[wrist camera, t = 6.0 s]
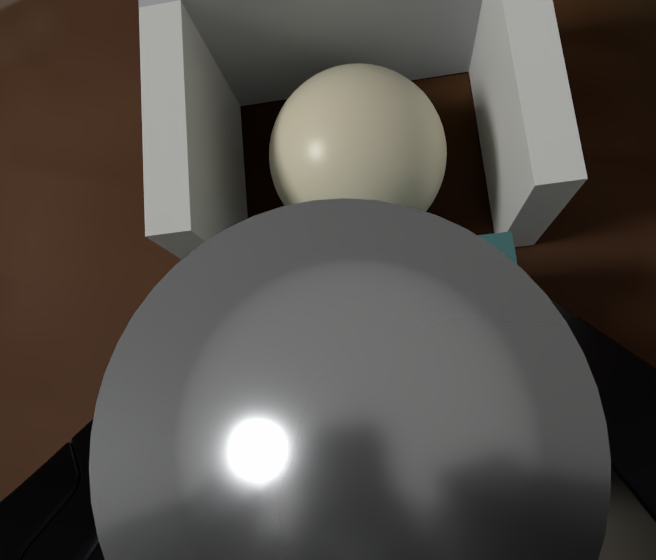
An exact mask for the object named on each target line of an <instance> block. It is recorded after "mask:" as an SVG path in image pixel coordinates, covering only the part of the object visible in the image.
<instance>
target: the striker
mask: <svg viewBox="0 0 656 560" xmlns="http://www.w3.org/2000/svg"><path fill="white" fill-rule="evenodd" d="M89 478H90V493H91V505H92V510H93V515H94V521H95V526H96V531H97V537H98V540H99V543H100V546H101V549H102V552H103V556H104V559H105V560H598V559H599V555H600V552H601V548H602V545H603V541H604V538H605V533H606V526H607V519H608V512H609V506H610V499H611V457H610V448H609V440H608V431H607V423H606V419H605V415H604V412H603V408H602V404H601V400H600V396H599V392H598V388H597V385H596V383H595V380H594V378H593V375H592V373H591V370H590V368H589V365H588V363H587V360H586V358H585V355H584V353H583V351H582V349H581V347H580V346H579V344H578V342H577V340H576V338H575V337H574V335H573V333H572V331H571V329H570V328H569V326H568V324H567V322H566V321H565V319H564V318H563V317H562V315H561V314H560V313H559V311H558V310H557V308H556V307H555V306H554V304H553V303H552V302H551V300H550V299H549V298H548V296H547V295H546V294H545V292H544V291H543V290H542V289H541V288H540V287H539V286H538V285H537V284H536V283H535V282H534V281H533V280H532V279H531V278H530V277H529V276H528V275H527V273H526V272H525V271H524V270H523V269H522V268H521V267H519V266H518V265H517V259H516V253H515V247H514V241H513V235H512V231H510V232H502V233H493V234H485V235H476V234H474V233H472V232H471V231H469V230H468V229H466V228H463V227H461V226H459V225H457V224H455V223H453V222H450V221H448V220H446V219H444V218H442V217H440V216H437V215H434V214H431V213H428V212H425V211H422V210H419V209H415V208H412V207H409V206H405V205H400V204H395V203H389V202H384V201H378V200H367V199H349V198H340V199H326V200H312V201H307V202H302V203H297V204H292V205H287V206H282V207H279V208H276V209H273V210H270V211H267V212H264V213H261V214H258V215H255V216H252V217H250V218H248V219H246V220H244V221H242V222H240V223H237V224H235V225H233V226H231V227H229V228H227V229H225V230H223V231H222V232H220V233H219V234H217V235H215V236H214V237H212V238H211V239H209V240H208V241H206V242H204V243H203V244H201V245H200V246H198V247H197V248H196V249H195V250H193V251H192V252H191V253H190V254H189V255H187V256H186V257H185V258H184V259H182V260H181V261H180V262H179V263H178V264H176V265H175V266H174V267H173V268H172V269H171V270H170V271H169V272H168V273H167V275H166V276H165V277H164V278H163V279H162V280H161V281H160V282H159V283H158V284H157V285H156V286H155V287H154V288H153V289H152V291H151V292H150V293H149V295H148V296H147V297H146V299H145V300H144V301H143V303H142V304H141V305H140V307H139V308H138V309H137V311H136V312H135V313H134V315H133V317H132V319H131V320H130V322H129V324H128V325H127V327H126V329H125V331H124V332H123V334H122V336H121V338H120V339H119V341H118V343H117V346H116V348H115V350H114V353H113V355H112V357H111V360H110V362H109V364H108V367H107V369H106V371H105V375H104V378H103V381H102V385H101V388H100V392H99V395H98V398H97V402H96V407H95V413H94V419H93V424H92V430H91V438H90V457H89Z"/></svg>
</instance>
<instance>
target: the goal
mask: <svg viewBox="0 0 656 560" xmlns="http://www.w3.org/2000/svg"><path fill="white" fill-rule="evenodd" d="M139 29H140V65H141V101H142V137H143V173H144V210H145V236H146V237H147V238H149V239H150V240H152V241H153V242H155V243H157V244H158V245H160V246H161V247H163V248H165V249H166V250H168V251H169V252H171V253H172V254H174V255H176V256H177V257H179V258H180V259H184V258H185V257H186V256H187V255H189V254H190V253H191V252H192V251H193V250H195V249H196V248H197V247H198V246H200V245H201V244H203V243H204V242H206V241H208V240H209V239H211V238H212V237H214V236H215V235H217V234H219V233H220V232H222V231H223V230H225V229H227V228H229V227H231V226H233V225H235V224H237V223H240V222H242V221H244V220H246V219H248V213H247V198H246V183H245V168H244V153H243V138H242V123H241V108H240V106H246V105H252V104H259V103H265V102H272V101H279V100H285V99H288V98H289V97H290V96H291V95H292V93H293V92H294V91H295V90H296V89H297V88H298V87H299V86H301V85H302V84H303V83H304V82H305V81H306V80H308V79H310V78H311V77H313V76H314V75H316V74H318V73H320V72H322V71H324V70H326V69H329V68H332V67H335V66H339V65H345V64H354V63H364V64H374V65H378V66H382V67H386V68H388V69H391V70H393V71H396V72H397V73H399V74H401V75H403V76H405V77H406V78H408V79H409V80H417V79H423V78H430V77H436V76H443V75H449V74H456V73H463V72H469V76H470V82H471V89H472V95H473V101H474V108H475V114H476V120H477V127H478V133H479V139H480V145H481V152H482V158H483V164H484V171H485V177H486V183H487V190H488V196H489V202H490V209H491V215H492V221H493V228H494V233H502V232H510V231H512V235H513V241H514V247H520V246H528V245H534V244H535V243H536V241H537V240H538V239H539V238H540V237H541V235H542V234H543V233H544V232H545V230H546V229H547V228H548V227H549V226H550V224H551V223H552V222H553V221H554V219H555V218H556V217H557V216H558V214H559V213H560V212H561V211H562V210H563V208H564V207H565V206H566V205H567V203H568V202H569V201H570V200H571V199H572V197H573V196H574V195H575V194H576V192H577V191H578V190H579V189H580V187H581V186H582V185H583V184H584V183H585V181H586V180H587V179H588V178H587V173H586V168H585V163H584V158H583V153H582V147H581V142H580V137H579V132H578V127H577V122H576V117H575V112H574V107H573V102H572V97H571V92H570V87H569V82H568V76H567V71H566V66H565V61H564V56H563V51H562V46H561V41H560V36H559V31H558V26H557V21H556V16H555V11H554V5H553V0H139Z"/></svg>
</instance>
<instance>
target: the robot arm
mask: <svg viewBox="0 0 656 560" xmlns="http://www.w3.org/2000/svg"><path fill="white" fill-rule="evenodd" d="M548 298H549V297H548ZM549 299H550V300H551V302H552V303H553V304H554V306H555V307H556V308H557V310H558V311H559V313H560V314H561V315H562V317H563V318H564V319H565V321H566V322H567V324H568V326H569V328H570V329H571V331H572V333H573V335H574V337H575V338H576V340H577V342H578V344H579V346H580V347H581V349H582V351H583V353H584V355H585V358H586V360H587V363H588V365H589V368H590V370H591V373H592V375H593V378H594V380H595V383H596V385H597V388H598V392H599V396H600V400H601V404H602V408H603V412H604V415H605V419H606V423H607V431H608V440H609V448H610V457H611V499H610V506H609V512H608V519H607V526H606V533H605V538H604V541H603V545H602V548H601V552H600V555H599V559H598V560H656V368H655V367H653V366H652V365H650V364H649V363H647V362H646V361H644V360H643V359H641V358H640V357H638V356H637V355H635V354H634V353H632V352H631V351H629V350H628V349H626V348H625V347H623V346H622V345H620V344H619V343H617V342H616V341H614V340H613V339H611V338H610V337H608V336H607V335H605V334H604V333H602V332H601V331H599V330H598V329H596V328H595V327H593V326H592V325H590V324H588V323H587V322H585V321H584V320H582V319H581V318H579V317H578V316H576V315H575V314H573V313H572V312H570V311H569V310H567V309H566V308H564V307H563V306H561V305H560V304H558V303H557V302H555V301H554V300H552V299H551V298H549ZM93 419H94V418H93ZM93 419H92V420H91V421H90V422H89V423H88V424H87V425H86V426H85V427H84V428H83V429H81V430H80V431H79V432H78V433H77V434H76V435H75V436H74V437H73V438H72V440H71V442H72V443H70V442H68V443H66V444H65V445H64V446H63V447H62V448H61V449H60V450H59V451H57V452H56V453H55V454H54V455H53V456H52V457H51V458H50V459H49V460H48V461H47V462H46V463H44V464H43V465H42V466H41V467H40V468H39V469H38V470H37V471H35V472H34V473H33V474H32V475H31V476H30V477H29V478H28V479H26V480H25V481H24V482H23V483H22V484H21V485H20V486H19V487H17V488H16V489H15V490H14V491H13V492H12V493H10V494H9V495H8V496H7V497H6V498H4V499H3V500H2V501H1V502H0V560H105V559H104V556H103V552H102V549H101V546H100V543H99V540H98V537H97V531H96V526H95V521H94V515H93V510H92V505H91V493H90V478H89V457H90V438H91V430H92V424H93Z"/></svg>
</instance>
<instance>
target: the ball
mask: <svg viewBox="0 0 656 560" xmlns="http://www.w3.org/2000/svg"><path fill="white" fill-rule="evenodd" d="M446 158H447V147H446V139H445V134H444V129H443V125H442V123H441V120H440V117H439V115H438V113H437V111H436V110H435V108H434V106H433V104H432V102H431V101H430V100H429V98H428V97H427V96H426V94H425V93H424V92H423V91H422V90H421V89H420V88H419V87H418V86H417V85H416V84H414V83H413V82H412V81H410V80H409V79H408V78H406V77H405V76H403V75H401V74H399V73H397V72H396V71H393V70H391V69H388V68H386V67H382V66H378V65H374V64H364V63H354V64H345V65H339V66H335V67H332V68H329V69H326V70H324V71H322V72H320V73H318V74H316V75H314V76H313V77H311V78H310V79H308V80H306V81H305V82H304V83H303V84H302V85H301V86H299V87H298V88H297V89H296V90H295V91H294V92H293V93H292V95H291V96H290V97H289V98H288V99H287V101H286V102H285V104H284V105H283V107H282V108H281V110H280V112H279V114H278V117H277V119H276V121H275V123H274V127H273V130H272V133H271V139H270V146H269V164H270V172H271V176H272V180H273V183H274V187H275V189H276V191H277V194H278V196H279V197H280V199H281V201H282V203H283V204H284V206H287V205H292V204H297V203H302V202H307V201H312V200H326V199H340V198H349V199H367V200H378V201H384V202H389V203H395V204H400V205H405V206H409V207H412V208H415V209H419V210H422V211H425V212H426V211H427V210H428V208H429V207H430V206H431V204H432V203H433V201H434V199H435V197H436V195H437V193H438V191H439V189H440V186H441V184H442V181H443V178H444V173H445V168H446Z"/></svg>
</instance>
